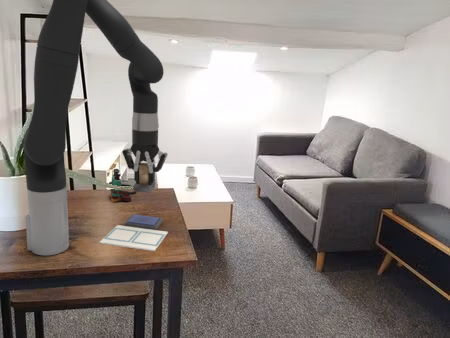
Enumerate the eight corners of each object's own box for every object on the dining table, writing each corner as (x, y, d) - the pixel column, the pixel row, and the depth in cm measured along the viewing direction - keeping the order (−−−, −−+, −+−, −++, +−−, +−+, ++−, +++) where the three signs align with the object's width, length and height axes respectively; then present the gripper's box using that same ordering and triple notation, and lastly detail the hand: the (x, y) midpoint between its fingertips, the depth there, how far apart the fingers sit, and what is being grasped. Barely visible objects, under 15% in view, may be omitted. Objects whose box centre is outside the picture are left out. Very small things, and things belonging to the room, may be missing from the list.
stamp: (133, 191, 118) (133, 165, 116) (139, 186, 123) (139, 161, 121) (149, 192, 118) (149, 167, 116) (155, 187, 122) (155, 163, 120)
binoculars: (140, 176, 139) (111, 174, 135) (137, 204, 142) (108, 203, 138) (136, 169, 147) (109, 167, 143) (133, 195, 150) (106, 194, 146)
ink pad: (124, 226, 121) (124, 221, 121) (132, 217, 128) (132, 213, 127) (155, 230, 120) (155, 226, 119) (162, 221, 126) (162, 217, 126)
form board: (99, 243, 109) (99, 241, 109) (117, 226, 121) (117, 224, 121) (154, 251, 107) (154, 249, 107) (167, 232, 119) (167, 231, 118)
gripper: (117, 127, 113) (117, 184, 117) (164, 132, 111) (163, 189, 115) (127, 123, 120) (127, 177, 124) (172, 127, 118) (170, 182, 123)
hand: (144, 183), depth 120 cm, fingers closed on stamp, 3 cm apart
